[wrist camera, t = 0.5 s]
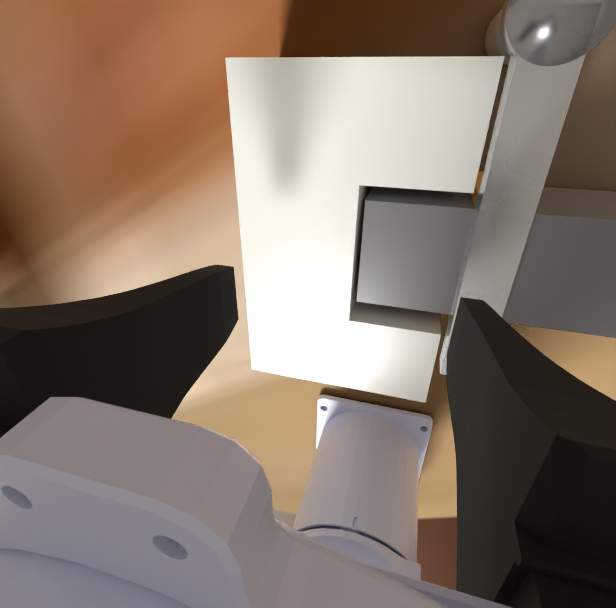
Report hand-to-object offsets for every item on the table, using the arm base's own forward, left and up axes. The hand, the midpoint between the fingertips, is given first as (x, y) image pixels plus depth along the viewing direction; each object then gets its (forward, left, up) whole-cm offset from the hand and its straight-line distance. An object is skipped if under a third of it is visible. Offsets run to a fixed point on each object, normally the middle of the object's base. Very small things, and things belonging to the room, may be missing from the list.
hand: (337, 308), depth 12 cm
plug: (0, -7, -10) cm, 12 cm away
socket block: (+1, 0, -10) cm, 10 cm away
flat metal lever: (+3, -5, -4) cm, 7 cm away
